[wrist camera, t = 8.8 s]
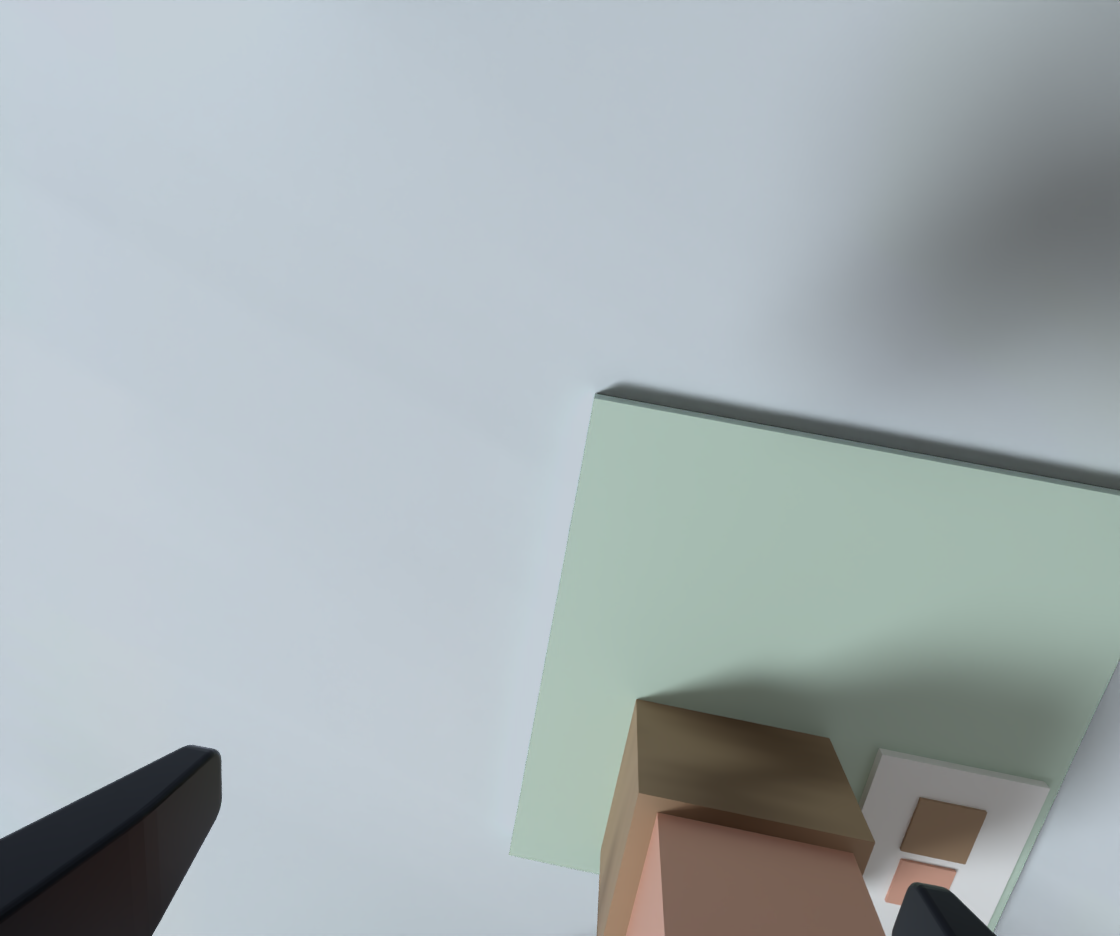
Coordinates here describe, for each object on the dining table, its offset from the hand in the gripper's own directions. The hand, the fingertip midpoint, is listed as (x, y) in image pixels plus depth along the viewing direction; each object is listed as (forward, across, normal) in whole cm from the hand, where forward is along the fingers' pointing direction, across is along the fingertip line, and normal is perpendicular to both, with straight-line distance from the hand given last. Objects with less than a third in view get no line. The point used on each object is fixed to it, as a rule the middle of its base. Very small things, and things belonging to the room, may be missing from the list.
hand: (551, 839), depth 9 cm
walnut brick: (+11, -5, +9) cm, 15 cm away
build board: (+12, -7, +5) cm, 15 cm away
